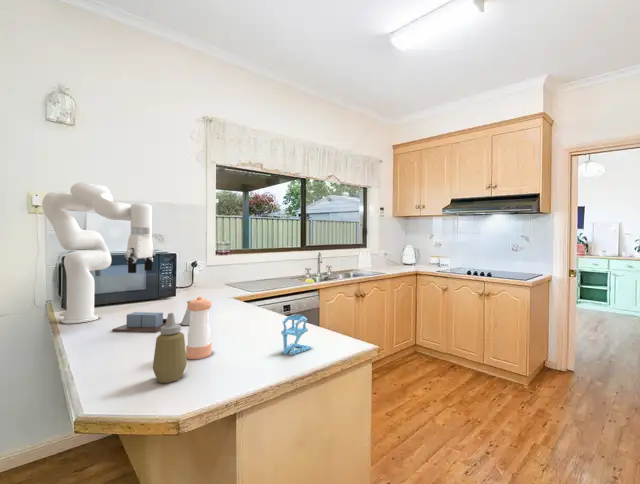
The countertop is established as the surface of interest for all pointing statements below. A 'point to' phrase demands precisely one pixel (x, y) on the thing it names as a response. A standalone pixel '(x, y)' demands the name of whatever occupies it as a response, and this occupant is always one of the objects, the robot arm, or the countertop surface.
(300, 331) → the chair
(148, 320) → the pad
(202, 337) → the pepper shaker
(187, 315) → the flask
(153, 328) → the backing board
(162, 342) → the squeeze bottle
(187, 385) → the countertop surface
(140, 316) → the pad
